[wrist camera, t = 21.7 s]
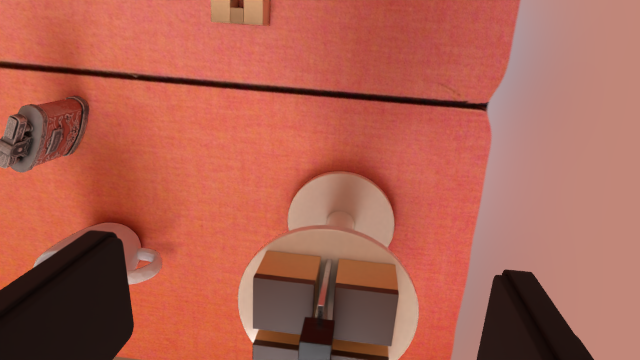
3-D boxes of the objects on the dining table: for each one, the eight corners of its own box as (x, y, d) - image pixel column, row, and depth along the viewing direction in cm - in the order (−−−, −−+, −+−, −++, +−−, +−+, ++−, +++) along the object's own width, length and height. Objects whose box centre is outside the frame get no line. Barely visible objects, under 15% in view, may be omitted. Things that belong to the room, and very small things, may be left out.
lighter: (74, 159, 52) (10, 185, 43) (50, 146, 52) (-20, 169, 43) (94, 104, 50) (29, 120, 40) (68, 90, 49) (-3, 102, 40)
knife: (317, 257, 32) (299, 327, 24) (342, 260, 32) (333, 332, 24) (310, 358, 36) (293, 449, 28) (333, 361, 35) (322, 454, 28)
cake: (266, 250, 33) (252, 277, 29) (395, 264, 32) (399, 294, 28) (264, 352, 36) (252, 389, 32) (381, 368, 35) (382, 408, 31)
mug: (94, 270, 58) (40, 315, 48) (82, 211, 55) (22, 247, 45) (180, 276, 56) (142, 324, 47) (173, 216, 53) (131, 254, 44)
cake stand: (339, 136, 47) (322, 190, 30) (428, 222, 49) (458, 318, 33) (257, 218, 52) (202, 305, 35) (341, 294, 54) (328, 410, 37)
